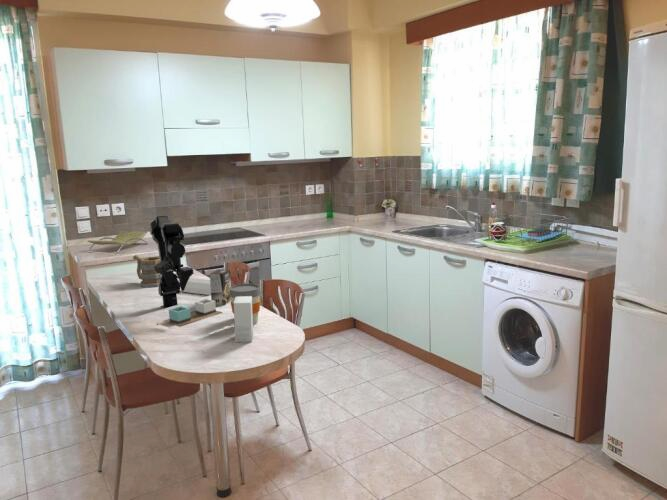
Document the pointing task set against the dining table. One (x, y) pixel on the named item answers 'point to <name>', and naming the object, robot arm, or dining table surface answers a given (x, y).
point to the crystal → (198, 286)
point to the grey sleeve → (205, 307)
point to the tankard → (148, 271)
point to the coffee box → (220, 286)
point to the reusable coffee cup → (247, 291)
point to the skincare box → (243, 319)
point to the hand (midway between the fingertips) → (175, 289)
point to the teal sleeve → (179, 315)
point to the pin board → (193, 317)
